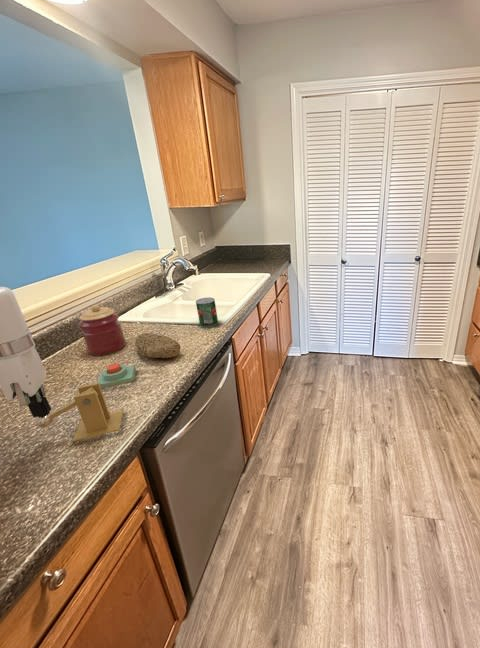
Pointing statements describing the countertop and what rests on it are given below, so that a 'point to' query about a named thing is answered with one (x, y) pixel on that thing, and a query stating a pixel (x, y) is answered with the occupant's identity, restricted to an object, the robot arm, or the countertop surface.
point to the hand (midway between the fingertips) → (42, 413)
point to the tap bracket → (95, 413)
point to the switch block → (117, 376)
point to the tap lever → (56, 413)
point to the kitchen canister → (101, 330)
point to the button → (113, 368)
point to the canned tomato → (207, 312)
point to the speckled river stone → (157, 346)
